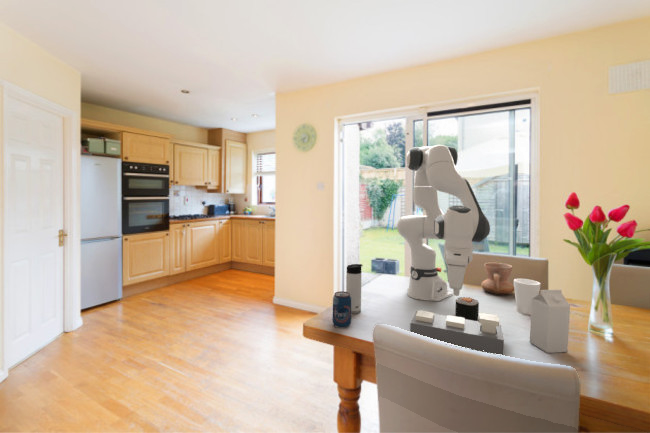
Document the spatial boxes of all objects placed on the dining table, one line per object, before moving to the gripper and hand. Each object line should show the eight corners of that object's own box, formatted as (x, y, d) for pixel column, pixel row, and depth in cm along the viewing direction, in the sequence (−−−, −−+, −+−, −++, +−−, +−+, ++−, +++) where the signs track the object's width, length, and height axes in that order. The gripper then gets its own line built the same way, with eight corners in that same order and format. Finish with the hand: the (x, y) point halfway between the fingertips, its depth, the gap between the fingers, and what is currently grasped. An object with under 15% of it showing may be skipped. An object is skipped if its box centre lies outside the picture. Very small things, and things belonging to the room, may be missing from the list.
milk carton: (529, 342, 103) (532, 286, 101) (549, 341, 103) (552, 286, 102) (546, 353, 96) (549, 293, 94) (567, 352, 96) (571, 293, 95)
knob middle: (445, 336, 104) (446, 320, 104) (446, 329, 109) (447, 315, 109) (463, 339, 102) (464, 323, 101) (464, 332, 107) (464, 317, 106)
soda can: (334, 329, 112) (334, 297, 111) (331, 321, 118) (331, 291, 118) (353, 328, 113) (353, 296, 112) (348, 320, 119) (349, 290, 119)
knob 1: (415, 330, 108) (415, 315, 108) (417, 324, 113) (418, 310, 113) (431, 333, 106) (432, 318, 106) (433, 327, 111) (434, 312, 111)
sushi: (480, 318, 123) (481, 298, 122) (473, 324, 117) (473, 303, 116) (460, 312, 128) (460, 294, 128) (451, 318, 123) (452, 298, 122)
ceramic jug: (484, 285, 167) (485, 260, 166) (515, 290, 159) (516, 263, 157) (477, 294, 153) (478, 266, 152) (511, 300, 144) (512, 271, 143)
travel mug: (361, 314, 126) (361, 266, 124) (345, 313, 127) (345, 265, 125) (362, 309, 132) (363, 263, 130) (347, 307, 133) (347, 262, 132)
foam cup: (512, 306, 136) (513, 277, 135) (537, 310, 132) (539, 280, 131) (512, 313, 128) (514, 282, 127) (539, 317, 123) (541, 286, 122)
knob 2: (478, 334, 99) (479, 318, 99) (478, 327, 105) (479, 312, 104) (498, 338, 97) (499, 321, 97) (497, 331, 102) (498, 315, 102)
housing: (409, 336, 106) (410, 322, 106) (415, 323, 117) (416, 311, 117) (503, 355, 94) (504, 340, 94) (500, 339, 105) (500, 325, 104)
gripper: (449, 248, 114) (448, 284, 115) (445, 259, 96) (444, 302, 97) (468, 249, 111) (467, 286, 113) (467, 262, 93) (465, 306, 94)
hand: (456, 294), depth 105 cm, fingers closed
